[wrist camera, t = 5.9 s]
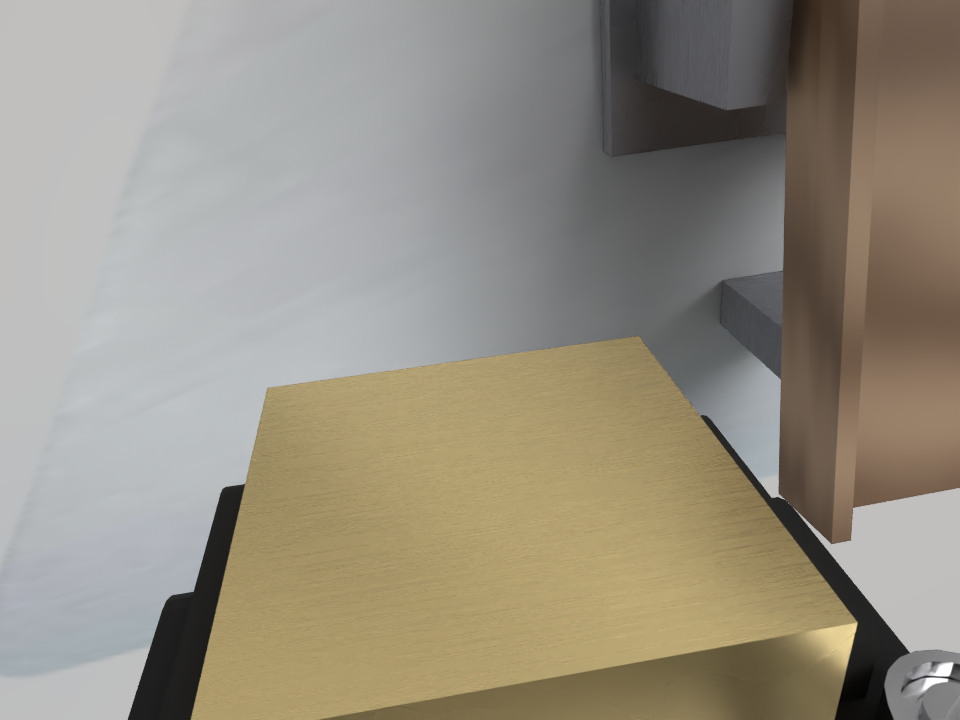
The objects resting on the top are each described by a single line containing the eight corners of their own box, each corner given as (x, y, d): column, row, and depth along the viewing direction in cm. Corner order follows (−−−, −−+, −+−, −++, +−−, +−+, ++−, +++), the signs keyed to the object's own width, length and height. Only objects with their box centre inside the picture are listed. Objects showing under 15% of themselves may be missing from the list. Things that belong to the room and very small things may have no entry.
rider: (267, 388, 9) (184, 744, 5) (639, 335, 10) (857, 622, 6) (335, 650, 12) (319, 1045, 7) (631, 599, 12) (780, 944, 8)
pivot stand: (598, -101, 23) (702, -139, 16) (999, -145, 25) (1257, -198, 18) (603, 151, 27) (690, 208, 20) (951, 102, 28) (1148, 140, 21)
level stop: (722, 280, 30) (815, 354, 24) (813, 266, 31) (926, 335, 25) (720, 323, 31) (808, 405, 25) (807, 309, 32) (916, 386, 25)
